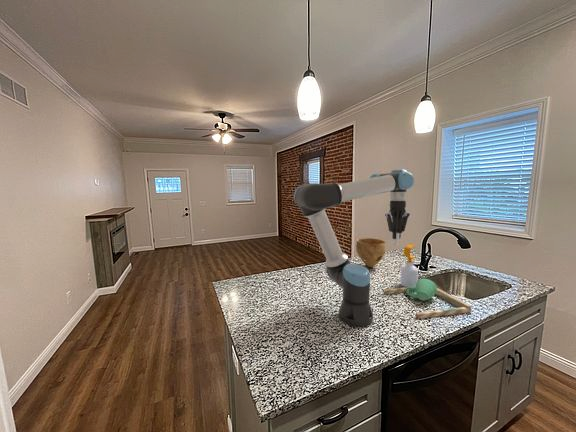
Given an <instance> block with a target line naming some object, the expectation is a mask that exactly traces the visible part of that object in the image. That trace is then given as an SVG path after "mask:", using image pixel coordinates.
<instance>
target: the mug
mask: <svg viewBox="0 0 576 432" xmlns="http://www.w3.org/2000/svg"><path fill="white" fill-rule="evenodd" d="M437 288H438V287H437V285H436V283H435V282H433V281H432V280H430V279H427V278H420V279H418V282H417V283H416V287H409V288H407V290H406V292H405V293H406V294H407V296H409V297H410V298H415V299H418V300H420V301H422V302H426V301H428V300H430V299H431V298H432V297H434V296H435V295H436V294H435V293H436V291H437ZM410 291H412V292H410ZM413 292H414V293H413Z"/></svg>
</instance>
